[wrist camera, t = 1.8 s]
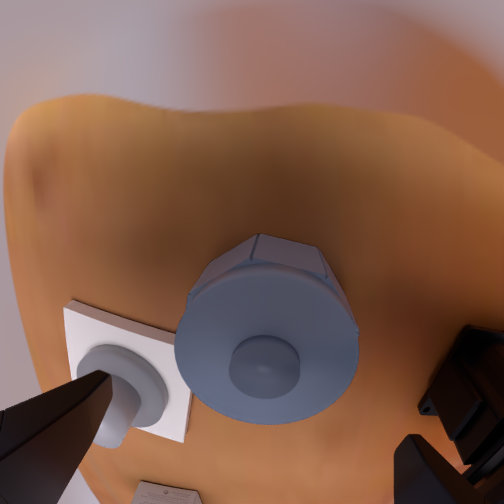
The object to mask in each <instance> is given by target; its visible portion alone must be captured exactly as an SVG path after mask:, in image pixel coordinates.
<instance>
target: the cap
mask: <svg viewBox="0 0 504 504" xmlns="http://www.w3.org/2000/svg"><path fill="white" fill-rule="evenodd" d="M358 336H359V329H358V326H357V323H356V321H355V318H354V316H353V313H352V310H351V308H350V305H349V303H348V300H347V298H346V295H345V293H344V291H343V290H342V288H341V286H340V284H339V283H338V281H337V279H336V277H335V275H334V274H333V272H332V270H331V268H330V267H329V265H328V263H327V261H326V260H325V258H324V256H323V255H322V253H321V251H320V249H317V247H314V246H310V245H306V244H302V243H298V242H294V241H290V240H286V239H282V238H277V237H273V236H269V235H265V234H261V233H260V235H259V236H258V234H256V235H254V236H253V237H251V238H249V239H248V240H246V241H244V242H243V243H241V244H239V245H238V246H236V247H234V248H233V249H231V250H229V251H228V252H226V253H224V254H223V255H221V256H219V257H218V258H216V259H214V260H213V261H211V262H210V263H209V264H208V266H207V267H206V268H205V270H204V271H203V273H202V274H201V276H200V277H199V279H198V280H197V282H196V283H195V285H194V286H193V288H192V289H191V291H190V292H189V294H188V297H187V304H186V311H185V313H184V315H183V317H182V319H181V320H180V322H179V325H178V328H177V330H176V335H175V340H174V353H175V360H176V364H177V367H178V370H179V372H180V374H181V377H182V378H183V380H184V382H185V383H186V385H187V386H188V387H189V389H190V390H191V391H192V392H193V393H194V394H195V395H196V396H197V397H198V398H199V399H200V400H201V401H202V402H203V403H205V404H206V405H207V406H209V407H210V408H212V409H214V410H215V411H217V412H219V413H221V414H223V415H225V416H227V417H230V418H233V419H236V420H239V421H243V422H247V423H253V424H264V425H275V424H285V423H291V422H296V421H299V420H303V419H306V418H308V417H311V416H313V415H315V414H317V413H319V412H321V411H323V410H324V409H326V408H327V407H329V406H330V405H331V404H333V403H334V402H335V401H336V400H337V399H338V398H339V397H340V396H341V395H342V394H343V393H344V392H345V390H346V389H347V388H348V386H349V385H350V383H351V381H352V379H353V377H354V375H355V372H356V369H357V365H358V361H359V344H358Z"/></svg>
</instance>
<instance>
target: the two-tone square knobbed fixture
mask: <svg viewBox="0 0 504 504" xmlns="http://www.w3.org/2000/svg"><path fill="white" fill-rule="evenodd" d="M63 309H64V321H65V332H66V341H67V349H68V357H69V364H70V370H71V377H72V381H73V380H75V379H77V378H80V377H82V376H84V375H86V374H88V373H91V372H93V371H95V370H103V371H105V372H108V373H110V374H111V376H112V386H113V397H112V400H111V403H110V405H109V407H108V409H107V411H106V414H105V416H104V418H103V420H102V423H101V425H100V427H99V430H98V432H97V434H96V436H95V439H94V440H93V442H94V443H95V444H97V445H100V446H103V447H106V448H117V447H119V446H120V445H121V443H122V441H123V439H124V437H125V435H126V433H127V432H128V430H129V428H130V427H136V428H138V429H141V430H144V431H147V432H150V433H153V434H156V435H159V436H162V437H165V438H168V439H172V440H175V441H178V442H182V443H183V442H184V440H185V437H186V434H187V429H188V422H189V415H190V408H191V401H192V395H193V392H192V391H191V390H190V389H189V387H188V386H187V385H186V383H185V382H184V380H183V378H182V377H181V374H180V372H179V370H178V367H177V364H176V360H175V353H174V340H175V335H176V334H174V333H170V332H167V331H163V330H160V329H157V328H154V327H150V326H147V325H144V324H141V323H138V322H134V321H131V320H128V319H125V318H122V317H119V316H116V315H113V314H110V313H108V312H105V311H102V310H99V309H96V308H93V307H91V306H88V305H85V304H82V303H80V302H77V301H74V300H72V301H70V302H69V303H68V304H67V305H65V306H64V307H63Z"/></svg>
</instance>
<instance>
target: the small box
mask: <svg viewBox="0 0 504 504" xmlns="http://www.w3.org/2000/svg"><path fill="white" fill-rule="evenodd" d="M131 504H202V502H201V500H200V497H199V495H198V492H197V491H191V490H185V489H178V488H172V487H167V486H162V485H157V484H152V483H147V482H143V481H140V482H139V485H138V487H137V490H136V492H135V495H134V497H133V500H132V502H131Z"/></svg>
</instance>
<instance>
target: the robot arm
mask: <svg viewBox="0 0 504 504" xmlns="http://www.w3.org/2000/svg"><path fill="white" fill-rule="evenodd" d="M469 333H470V334H469ZM468 334H469V335H468ZM467 335H468V336H467ZM112 397H113V386H112V376H111V374H110V373H108V372H105V371H103V370H95V371H93V372H91V373H88V374H86V375H84V376H82V377H80V378H77V379H75V380H73V381H70V382H68V383H66V384H64V385H61V386H59V387H57V388H54V389H52V390H50V391H47V392H45V393H43V394H41V395H38V396H36V397H33V398H31V399H28V400H26V401H24V402H21V403H19V404H17V405H14V406H11V407H9V408H7V409H5V411H4V410H2V411H0V504H57V503H58V501H59V499H60V497H61V495H62V494H63V491H64V490H65V488H66V486H67V485H68V483H69V481H70V480H71V478H72V476H73V475H74V473H75V471H76V469H77V468H78V466H79V464H80V463H81V461H82V459H83V457H84V456H85V454H86V452H87V451H88V449H89V447H90V446H91V444H92V442H93V440H94V439H95V436H96V434H97V432H98V430H99V427H100V425H101V423H102V420H103V418H104V416H105V414H106V411H107V409H108V407H109V405H110V403H111V400H112ZM418 411H419V413H420V414H421V415H434V416H439V418H440V420H441V423H442V425H443V427H444V429H445V431H446V434H447V436H448V438H449V440H450V441H454V444H455V446H456V448H457V451H458V453H459V455H460V457H461V460H462V462H463V465H469V464H471V466H470V467H469V468H468V469H467V470H466V471H465V472H464V473H463V474H460V473H459V472H458V471H457V470H456V469H455V468H454V467H453V466H452V465H451V464H450V463H449V462H448V461H447V460H446V459H445V458H444V457H443V456H442V455H441V454H440V453H438V452H437V451H436V450H435V449H434V448H433V447H432V446H431V445H430V444H429V443H428V442H427V441H426V440H425V439H424V438H423V437H422V436H421V435H419V434H408V435H407V436H406V437H405V438H404V439H403V441H402V442H401V443H400V445H399V446H398V447H397V448H396V450H395V453H394V504H504V331H499V330H493V329H488V328H483V327H477V326H472V325H468V326H466V327H464V328H463V329H462V331H461V332H460V334H459V336H458V338H457V340H456V342H455V344H454V346H453V348H452V350H451V352H450V354H449V356H448V357H447V359H446V361H445V363H444V365H443V366H442V368H441V370H440V372H439V373H438V375H437V377H436V379H435V380H434V382H433V384H432V385H431V387H430V388H429V390H428V392H427V393H426V395H425V396H424V398H423V400H422V401H421V403H420V404H419V406H418Z"/></svg>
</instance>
